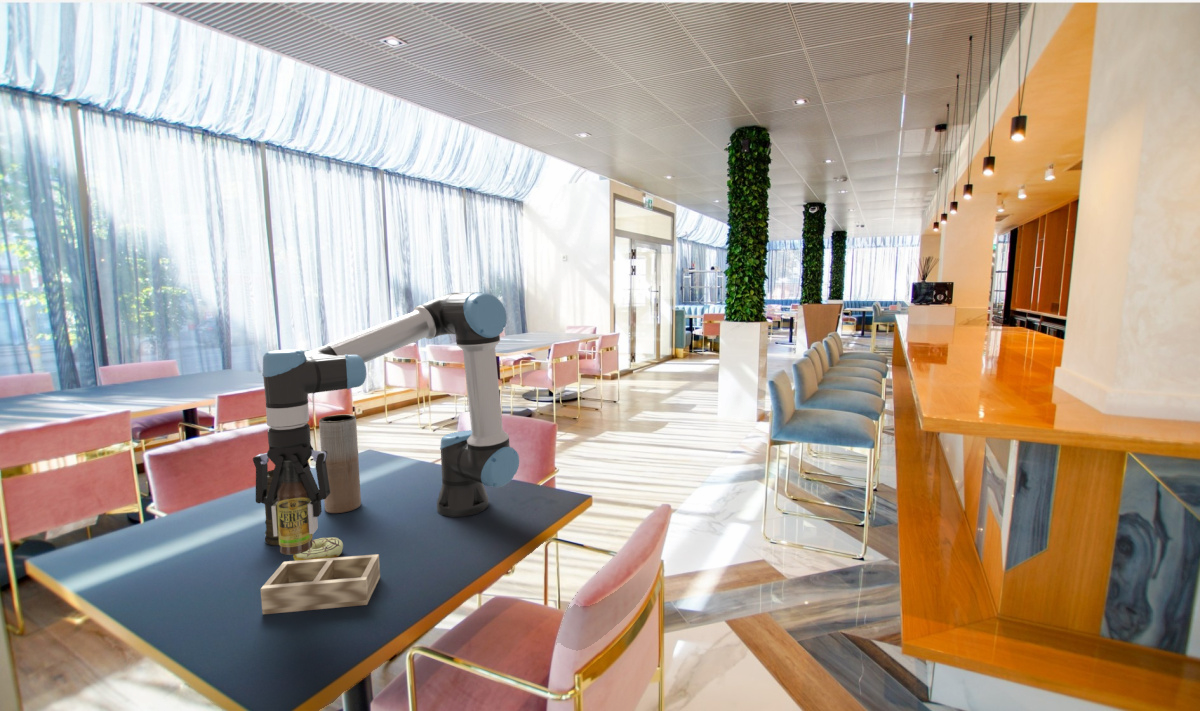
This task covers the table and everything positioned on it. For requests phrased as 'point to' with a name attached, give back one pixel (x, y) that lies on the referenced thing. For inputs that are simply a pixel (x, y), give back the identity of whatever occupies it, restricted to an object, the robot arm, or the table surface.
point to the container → (270, 537)
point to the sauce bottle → (293, 513)
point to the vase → (341, 462)
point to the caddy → (321, 584)
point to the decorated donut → (321, 549)
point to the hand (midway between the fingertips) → (296, 532)
